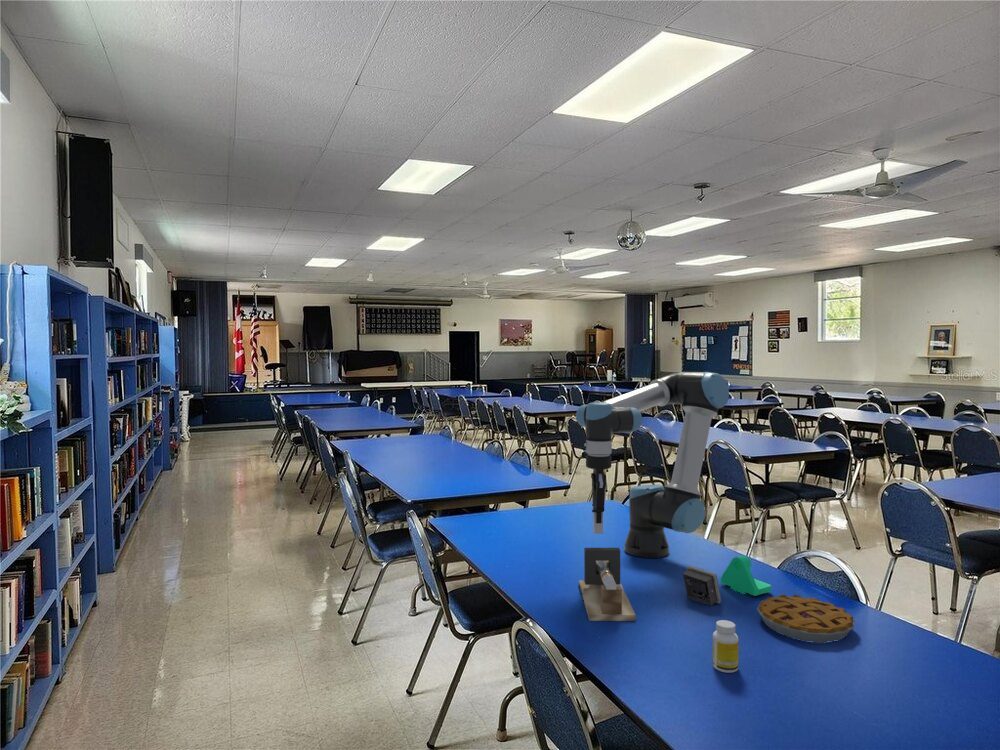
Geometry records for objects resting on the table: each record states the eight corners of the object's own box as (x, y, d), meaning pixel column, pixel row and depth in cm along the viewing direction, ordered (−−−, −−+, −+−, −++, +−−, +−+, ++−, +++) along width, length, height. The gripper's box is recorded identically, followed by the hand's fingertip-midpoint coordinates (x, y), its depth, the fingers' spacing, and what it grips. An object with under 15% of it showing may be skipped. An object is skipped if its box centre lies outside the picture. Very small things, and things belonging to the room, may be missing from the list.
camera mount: (772, 594, 180) (772, 559, 180) (754, 599, 176) (754, 563, 176) (738, 581, 191) (738, 547, 190) (720, 586, 187) (720, 551, 186)
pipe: (604, 564, 187) (604, 553, 187) (618, 595, 163) (618, 583, 163) (593, 564, 187) (593, 553, 187) (605, 595, 163) (605, 583, 163)
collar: (618, 581, 182) (618, 547, 182) (620, 584, 180) (620, 550, 179) (584, 581, 182) (584, 547, 182) (585, 584, 180) (585, 550, 180)
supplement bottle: (743, 671, 136) (744, 627, 136) (722, 675, 135) (722, 630, 135) (728, 660, 142) (728, 617, 141) (707, 663, 140) (707, 620, 140)
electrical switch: (721, 603, 173) (720, 571, 172) (711, 610, 170) (709, 577, 169) (692, 593, 181) (690, 562, 180) (681, 600, 177) (679, 568, 177)
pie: (739, 618, 164) (739, 599, 164) (799, 604, 173) (800, 586, 173) (810, 654, 144) (810, 633, 144) (874, 637, 153) (874, 616, 153)
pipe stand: (619, 585, 187) (619, 558, 187) (635, 620, 162) (635, 590, 162) (579, 585, 188) (579, 558, 187) (589, 620, 163) (589, 590, 162)
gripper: (583, 451, 193) (583, 527, 194) (588, 457, 180) (588, 539, 181) (607, 451, 193) (607, 527, 194) (614, 458, 180) (614, 539, 181)
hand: (598, 532), depth 187 cm, fingers closed
